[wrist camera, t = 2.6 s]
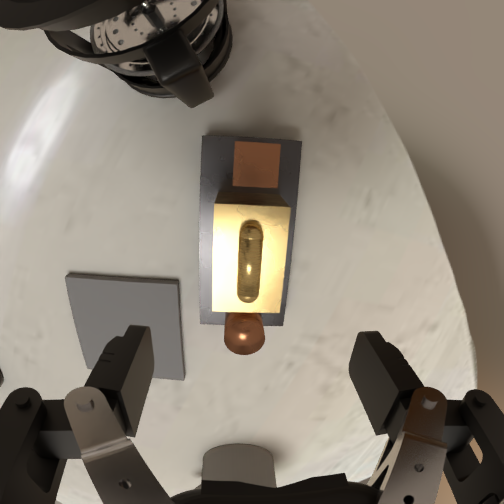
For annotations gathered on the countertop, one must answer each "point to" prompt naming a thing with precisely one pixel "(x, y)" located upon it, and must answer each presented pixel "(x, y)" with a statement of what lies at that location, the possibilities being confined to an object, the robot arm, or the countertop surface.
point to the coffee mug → (239, 465)
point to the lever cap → (249, 252)
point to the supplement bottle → (1, 379)
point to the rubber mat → (128, 317)
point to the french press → (136, 39)
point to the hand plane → (244, 181)
